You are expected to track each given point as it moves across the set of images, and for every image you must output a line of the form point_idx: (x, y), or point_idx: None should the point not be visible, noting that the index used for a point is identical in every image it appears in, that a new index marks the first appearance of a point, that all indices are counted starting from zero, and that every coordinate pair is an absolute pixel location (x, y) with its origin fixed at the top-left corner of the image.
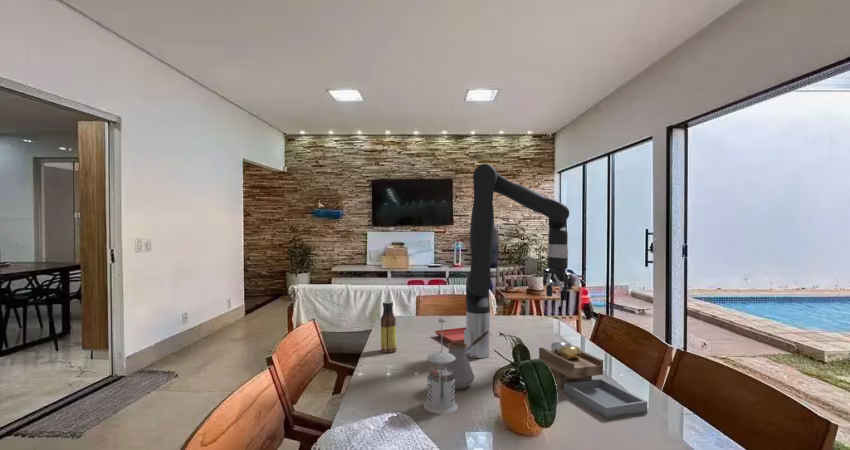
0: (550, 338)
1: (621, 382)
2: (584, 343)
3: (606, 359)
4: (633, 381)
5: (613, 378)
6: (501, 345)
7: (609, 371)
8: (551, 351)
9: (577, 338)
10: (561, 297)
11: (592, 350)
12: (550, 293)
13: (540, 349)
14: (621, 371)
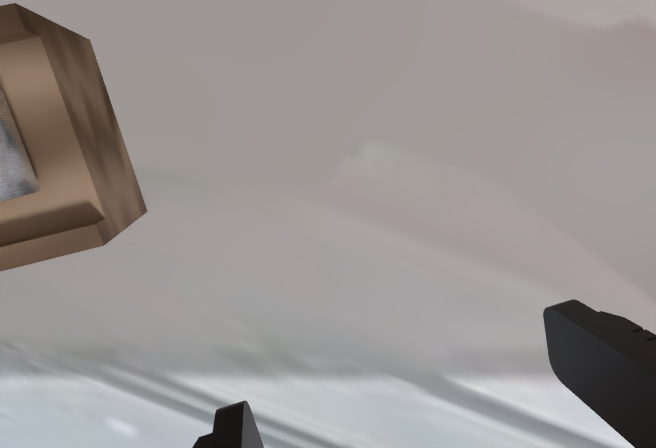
0: (640, 312)
1: (21, 390)
2: (542, 436)
3: (318, 444)
4: (38, 441)
5: (70, 378)
6: (576, 4)
7: (160, 396)
8: (51, 106)
9: (617, 433)
10: (217, 432)
11: (443, 433)
12: (578, 370)
13: (2, 8)
14: (162, 444)
